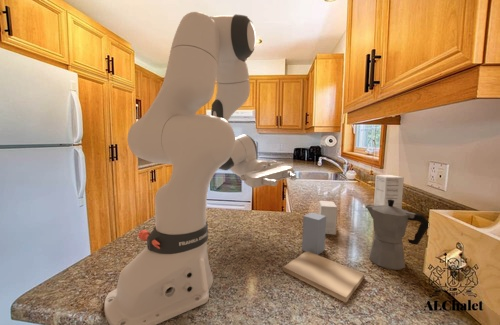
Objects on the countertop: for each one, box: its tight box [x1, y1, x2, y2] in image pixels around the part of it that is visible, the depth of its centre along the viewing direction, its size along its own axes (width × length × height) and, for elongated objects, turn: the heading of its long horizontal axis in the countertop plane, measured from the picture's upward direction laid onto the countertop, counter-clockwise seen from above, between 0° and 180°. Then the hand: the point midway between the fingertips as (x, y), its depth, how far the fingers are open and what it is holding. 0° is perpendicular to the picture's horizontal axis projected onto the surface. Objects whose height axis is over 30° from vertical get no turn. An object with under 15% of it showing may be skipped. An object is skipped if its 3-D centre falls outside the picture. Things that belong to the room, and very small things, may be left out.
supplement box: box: [373, 174, 405, 209], centre depth 115 cm, size 10×9×17 cm
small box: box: [318, 200, 338, 236], centre depth 84 cm, size 8×6×10 cm
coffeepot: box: [365, 199, 430, 271], centre depth 61 cm, size 15×9×18 cm, turn 39°
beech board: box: [282, 251, 365, 303], centre depth 56 cm, size 12×16×1 cm
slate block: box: [301, 212, 326, 256], centre depth 68 cm, size 5×5×11 cm
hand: (285, 180), depth 75 cm, fingers open, 8 cm apart
